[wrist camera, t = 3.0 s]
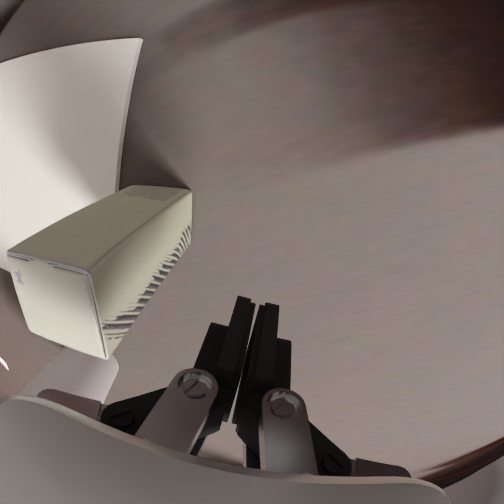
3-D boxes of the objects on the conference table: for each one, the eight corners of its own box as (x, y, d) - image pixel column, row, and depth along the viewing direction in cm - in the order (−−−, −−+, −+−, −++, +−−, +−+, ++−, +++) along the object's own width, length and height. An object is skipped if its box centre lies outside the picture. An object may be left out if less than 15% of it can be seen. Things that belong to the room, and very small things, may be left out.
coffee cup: (132, 394, 31) (84, 490, 17) (71, 365, 31) (14, 445, 18) (128, 341, 27) (57, 457, 13) (58, 311, 27) (-22, 398, 14)
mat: (-3, 65, 16) (-7, 65, 16) (143, 39, 16) (139, 37, 15) (-3, 262, 26) (-6, 264, 26) (119, 314, 26) (116, 317, 25)
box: (133, 236, 22) (24, 332, 10) (132, 182, 20) (-1, 249, 9) (195, 245, 22) (109, 367, 10) (197, 187, 20) (86, 271, 8)
